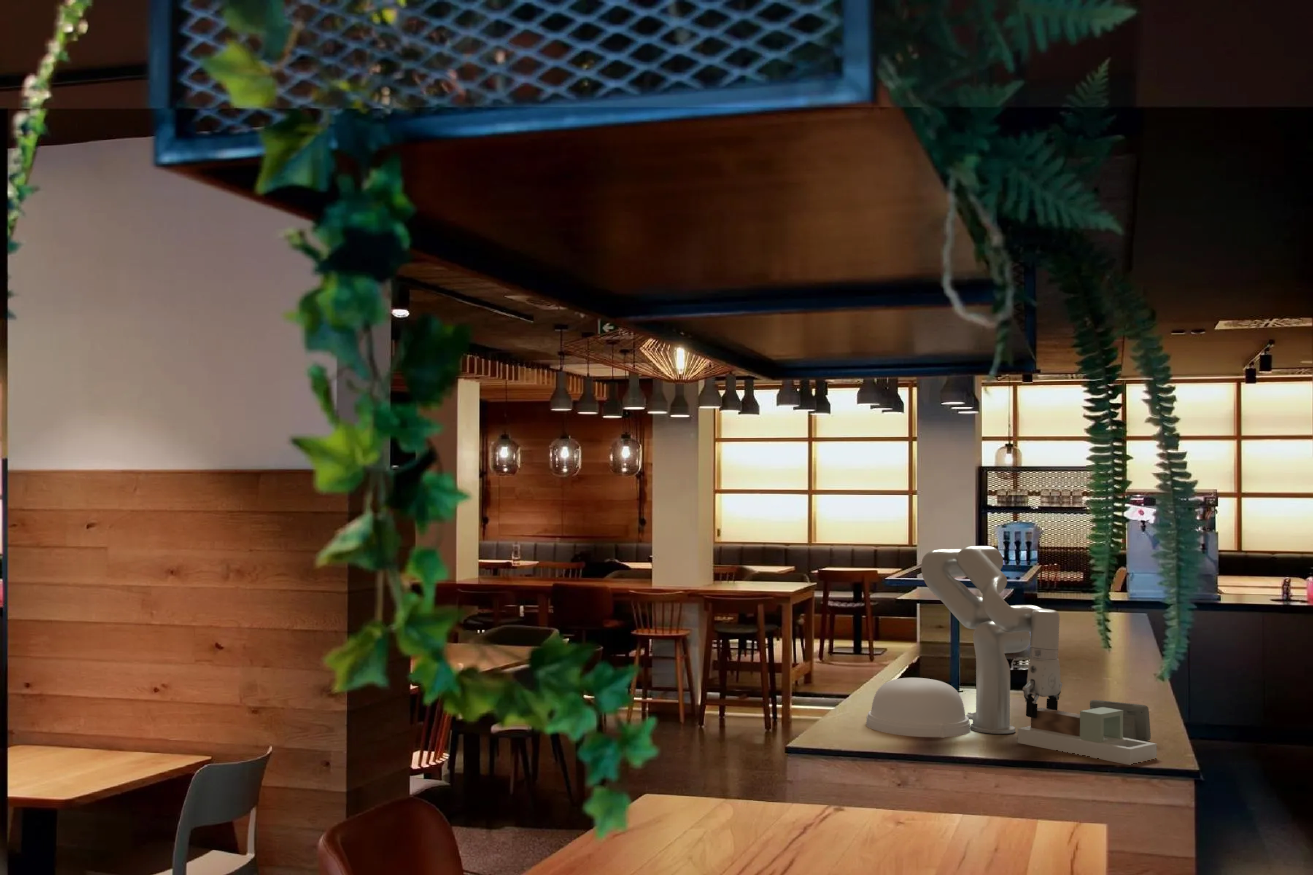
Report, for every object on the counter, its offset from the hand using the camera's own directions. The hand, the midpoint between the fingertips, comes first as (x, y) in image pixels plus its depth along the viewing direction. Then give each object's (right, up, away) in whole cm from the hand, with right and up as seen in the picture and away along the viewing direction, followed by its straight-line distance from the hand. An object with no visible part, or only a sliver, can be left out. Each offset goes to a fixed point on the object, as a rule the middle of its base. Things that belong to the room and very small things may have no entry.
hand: (1041, 715), depth 345 cm
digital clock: (+24, -8, +7) cm, 26 cm away
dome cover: (-31, -8, +19) cm, 37 cm away
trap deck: (+8, -7, -11) cm, 15 cm away
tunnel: (+11, -3, -15) cm, 19 cm away
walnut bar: (+3, -3, -5) cm, 7 cm away
